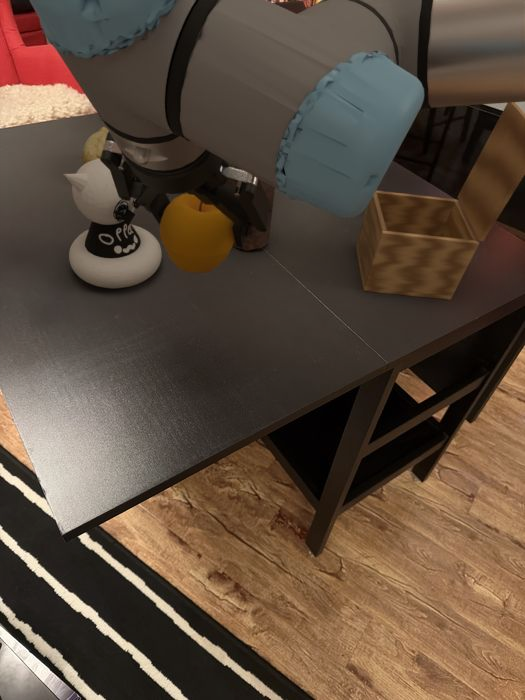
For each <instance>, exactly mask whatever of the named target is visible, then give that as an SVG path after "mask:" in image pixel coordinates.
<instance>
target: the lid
mask: <svg viewBox="0 0 525 700" xmlns="http://www.w3.org/2000/svg"><path fill="white" fill-rule="evenodd" d="M493 127H494V128H493V129H492V131H491V133H490V134H489V136H488V139H487V140H486V142H485V143H484V146H483V148H482V150H481V151H480V153H479V155H478V157H477V159H476V161H475V163H474V165H473V167H472V169H471V170H470V172H469V174H468V176H467V178H466V180H465V182H464V184H463V186H462V187H461V189H460V191H459V192H458V195H457V200H458V201H459V203H460V205H461V207H462V209H463V211H464V213H465V215H466V217H467V219H468V221H469V223H470V225H471V227H472V229H473V231H474V233H475V236H476V238H477V240H478V242H479V241H480V242H484V241H485V239H486V237H487V236H488V234H489V233H490V231H491V230H492V228H493V226H494V225H495V223H496V221H497V220H498V218H499V217H500V215H501V214H502V212H503V210H504V208H505V207H506V205H507V204H508V202H509V201H510V199H511V197H512V196H513V194H514V192H515V191H516V190H517V188H518V186H519V184H520V183H521V181H522V180H523V178H524V176H525V112H524V111H523V109H522V108H520V106H519V105H518V104H517V102H512V103H506V105H505V107H504V108H503V110H502V113H501V114H500V116H499V118H498V119H497V121H496V124H495V125H494V126H493Z"/></svg>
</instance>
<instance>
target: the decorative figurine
mask: <svg viewBox="0 0 525 700" xmlns="http://www.w3.org/2000/svg"><path fill="white" fill-rule="evenodd" d="M63 176H64V177H65V178H66V179H67V180H68V182H69V183H70V184H71V186H72V187H71V193H72V198H73V201H74V203H75V206H76V207H77V209H78V210H79V211H80V213H81V214H82V215H83V216H85V218H87V219H88V220H90V221H91V222H90V225H89V228H88V229H86V230H85V231H82V233H80V234H79V235H78V236H77V237H76V238H75V239H74V240H73V242H72V244H71V246H70V248H69V252H68V260H69V264H70V267H71V269H72V270H73V272H74V273H75V274H76V275H77V276H78V278H80V279H81V280H82V281H84V282H86V283H88V284H90V285H93V286H95V287H98V288H105V289H123V288H124V289H125V288H129V287H133V286H137V285H139V284H140V283H143V282H145V281H146V280H148V279H149V278H151V277H152V276H153V275H155V273H156V272H157V271H158V269H159V267H160V265H161V262H162V257H163V256H162V253H163V252H162V248H161V247H162V246H161V245H160V243H159V240H158V239H157V238H156V237H155V236H154V235H153V234H152V233H151V232H149V231H148V230H147V229H145V228H143V227H140V226H137V225H134V224H132V221H133V219H134V218H135V216H136V213H135V210H138V209H139V208H140V207H141V205H139V204H138V203H137V201H138V200H137V199H134V198H132V197H131V199H130V201H125V200H122V199H121V198H119V196H118V193H117V190H116V187H115V184H114V181H113V178H112V175H111V172H110V170H109V169H108V168H107V167H106V166H105V165H104V164H103V163H102V162H101V161H100V159H96V160H92V161H89V162H87V163H86V164H84V163H83V165H82V166H80V167H79V169H77V171H76V172H75V173H63Z"/></svg>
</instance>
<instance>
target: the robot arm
mask: <svg viewBox="0 0 525 700" xmlns="http://www.w3.org/2000/svg"><path fill="white" fill-rule="evenodd" d="M29 3H30V5H31V6H32V8H33V9H34V11H35V13H36V15H37V17H38V19H39V24H40V28H41V29H42V33H43V35H44V36H45V37H46V40H47V41H48V43H49V44H50V45H52V47H53V48H54V49H55V51H56V52H57V53H58V55H59V57H60V58H61V60H62V61H63V63H64V64H65V66H66V67H67V69H68V71H69V72H70V74H71V75H72V76H73V78H74V80H75V81H76V83H77V84H78V86H79V87H80V89H81V91H82V92H83V94H84V95H85V96H86V99H88V101H89V103H90V104H91V106H92V107H93V109H94V110H95V111H96V112H97V114H98V116H99V118H100V119H101V121H102V123H103V125H104V127H107V129H108V131H109V132H107V136H106V140H105V143H104V146H103V150H102V154H101V158H100V161H101V162H102V163H103V164H104V165H105V166H106V167H107V168H108V169H109V170H110V172H111V175H112V178H113V181H114V184H115V187H116V190H117V193H118V196H119V198H121V199H122V200H125V201H130V199H131V197H132V198H134V199H137V200H138V201H137V203H138V204H139V205H140V207H144V209H145V210H146V211H147V212H148V213H149V214H150V213H151V215H152V216H153V217H154V219H155V221H156V222H157V223H158V225H159V226H160V222H161V219H162V216H163V213H164V210H165V209H166V207H167V206H168V205H169V204H170V203H171V202H172V201H170V199H169V196H168V195H182V194H187V193H188V194H190V195H195V196H196V197H197V198H198V199H199V200H201V201H202V202H203V203H204V204H206V205H214V206H215V207H216V208H217V209H218V210H220V211H221V212H222V213H223V214H224V215H225V216H227V217H228V218H229V219H230V220H231V221H232V222H234V224H233V228H232V229H233V233H234V238H235V243H236V246H237V247H241V248H243V243H244V239H245V237H248V235H252V233H253V229H254V227H255V229H256V230H258V231H260V232H266V231H267V228H268V224H269V220H270V216H271V212H272V213H273V210H272V207H271V205H270V202H269V200H268V198H267V196H266V193H265V191H264V189H263V186H262V184H261V182H260V180H262V181H263V182H265V183H267V184H269V185H271V186H272V187H274V188H275V189H276V190H278V191H279V192H281V193H282V194H283V195H284V196H285V197H287V198H290V199H291V200H293V201H295V200H298V201H300V202H301V201H302V202H304V203H306V204H308V205H311V206H312V207H315V208H318V209H319V210H322V211H324V212H327V213H329V214H331V215H334V216H335V217H338V218H342V219H351V218H355V217H356V216H357V217H358V215H360V214H362V213H363V212H364V211H366V209H367V206H368V204H369V202H370V200H371V198H372V197H373V195H374V193H375V191H377V190H378V188H379V186H380V184H381V182H382V180H383V179H384V177H385V174H386V173H387V172H388V170H389V168H390V166H391V164H392V162H393V160H394V159H395V157H396V155H397V153H398V151H399V149H400V147H401V145H402V144H403V142H404V140H405V138H406V137H407V134H408V133H409V131H410V129H411V127H412V125H413V124H414V122H415V120H416V118H417V116H418V114H419V112H420V110H426V109H432V108H433V109H434V108H447V107H448V108H449V107H462V106H463V107H465V106H479V105H494V104H495V105H496V104H507V103H512V102H515V103H523V102H524V103H525V0H320V1H318V2H316V3H315V4H313V5H311V6H310V7H307V8H306V10H304V11H302V12H300V13H298V14H295V13H293V12H291V11H289V10H287V9H285V8H282V7H280V6H278V5H276V4H274V3H275V2H273V1H270V0H29ZM229 163H231V164H233V165H235V166H236V167H238V168H240V169H241V170H239V169H236V168H232V167H230V165H229ZM137 179H138V180H139V181H140V182H139V181H136V180H137ZM259 179H260V180H259Z"/></svg>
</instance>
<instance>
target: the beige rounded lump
mask: <svg viewBox="0 0 525 700" xmlns="http://www.w3.org/2000/svg"><path fill="white" fill-rule="evenodd" d="M107 132H109V131H108V129H107V127H106V126H101V128H100V129H99V130H98V131H95V132H94V133H93V134H91V135H90V136H89V137H88V138H87V140H86V141H85V143H84V146H83V150H82V162H83V165H84V164H86V163H87V162H89V161H92V160H96V159H100V158H101V154H102V150H103V146H104V143H105V140H106V136H107Z"/></svg>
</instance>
